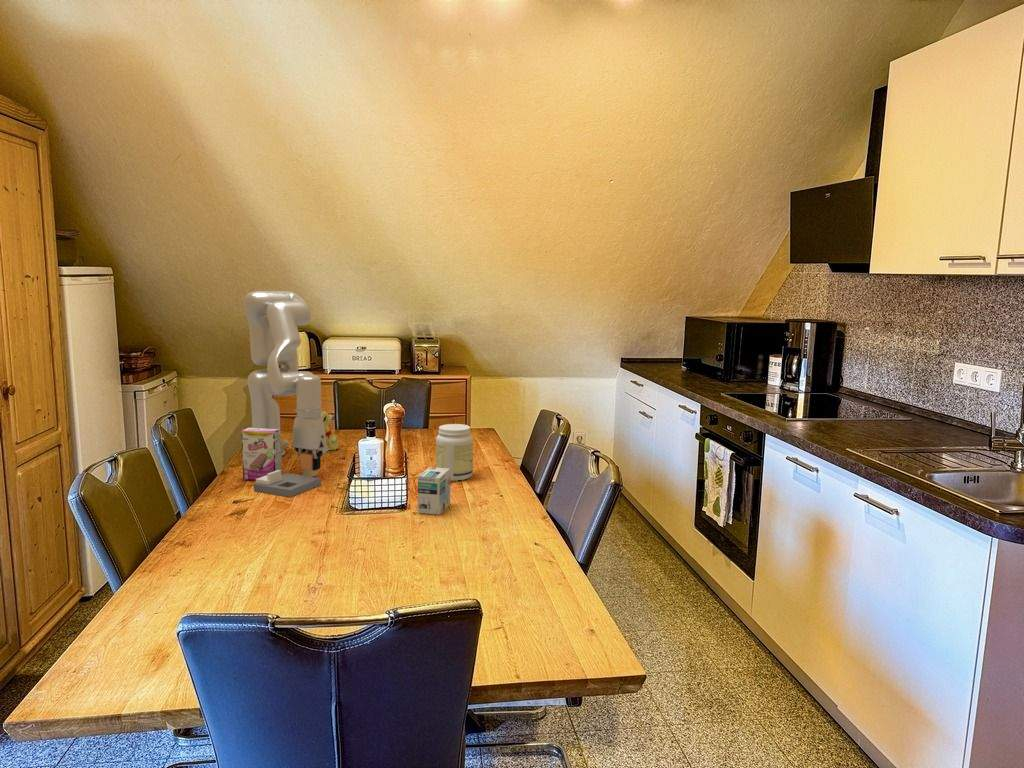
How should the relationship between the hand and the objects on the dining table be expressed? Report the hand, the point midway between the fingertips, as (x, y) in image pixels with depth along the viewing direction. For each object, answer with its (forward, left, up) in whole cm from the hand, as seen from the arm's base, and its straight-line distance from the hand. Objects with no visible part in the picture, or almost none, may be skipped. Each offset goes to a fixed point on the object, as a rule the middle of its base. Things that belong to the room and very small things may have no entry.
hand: (310, 467), depth 223 cm
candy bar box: (+9, -12, -3) cm, 15 cm away
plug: (0, 0, -2) cm, 2 cm away
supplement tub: (-22, +41, -3) cm, 47 cm away
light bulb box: (+9, +51, -3) cm, 52 cm away
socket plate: (+12, +1, -3) cm, 13 cm away
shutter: (+15, -3, -1) cm, 16 cm away
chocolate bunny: (-31, -19, -3) cm, 36 cm away
